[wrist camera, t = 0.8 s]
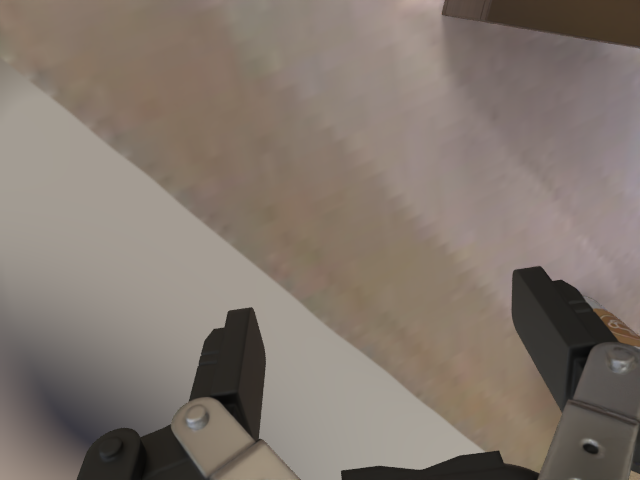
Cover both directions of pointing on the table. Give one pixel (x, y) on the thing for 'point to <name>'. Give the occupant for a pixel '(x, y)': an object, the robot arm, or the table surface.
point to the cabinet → (558, 17)
